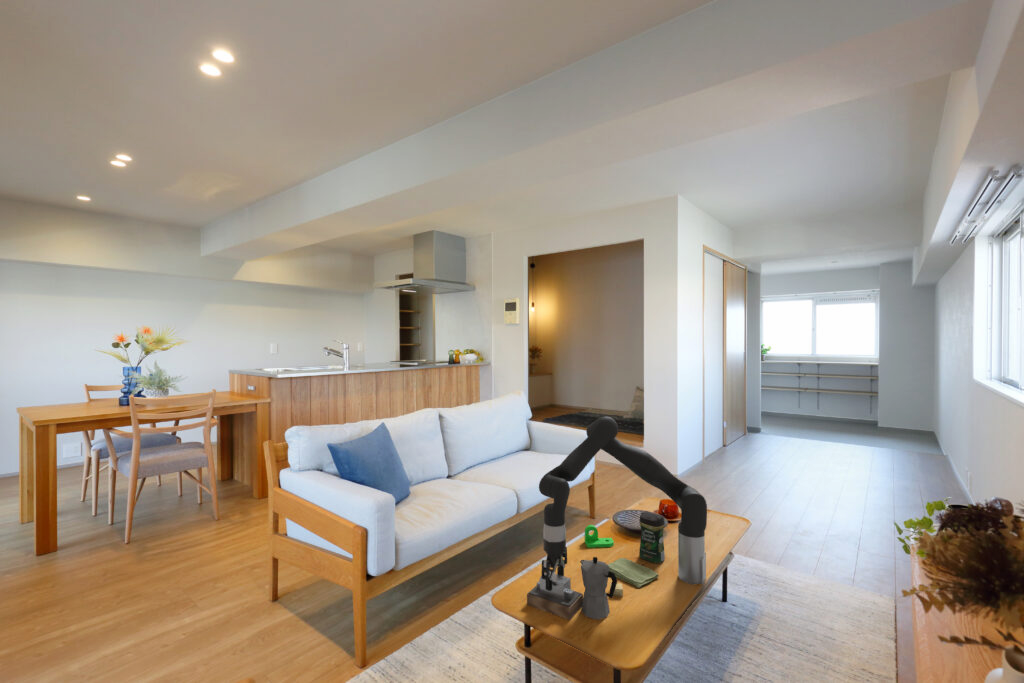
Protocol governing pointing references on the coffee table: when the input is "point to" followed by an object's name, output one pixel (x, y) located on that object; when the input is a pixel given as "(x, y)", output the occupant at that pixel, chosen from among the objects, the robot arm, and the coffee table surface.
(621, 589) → the brass block
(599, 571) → the coffeepot
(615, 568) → the washcloth
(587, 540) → the mechanical part
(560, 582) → the block
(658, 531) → the coffee jar
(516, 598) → the coffee table surface
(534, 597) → the stand
